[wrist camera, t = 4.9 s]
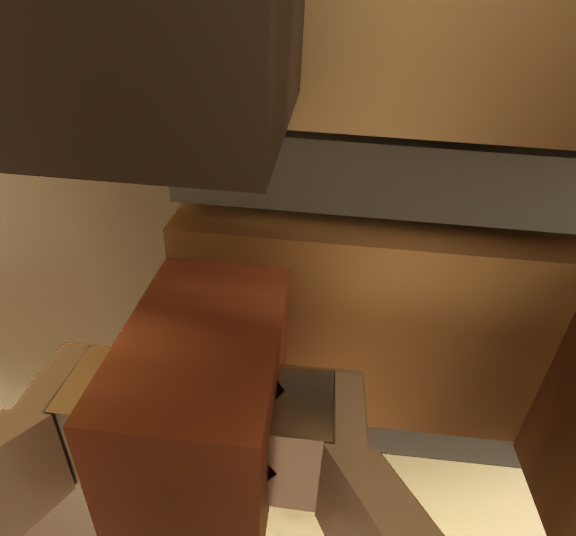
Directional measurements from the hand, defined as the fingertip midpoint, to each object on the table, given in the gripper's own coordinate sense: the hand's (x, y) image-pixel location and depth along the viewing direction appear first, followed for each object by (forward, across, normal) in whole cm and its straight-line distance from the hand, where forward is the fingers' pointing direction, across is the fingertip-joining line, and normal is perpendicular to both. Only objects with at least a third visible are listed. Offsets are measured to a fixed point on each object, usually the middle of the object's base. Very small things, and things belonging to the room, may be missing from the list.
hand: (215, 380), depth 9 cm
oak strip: (+3, -5, 0) cm, 6 cm away
